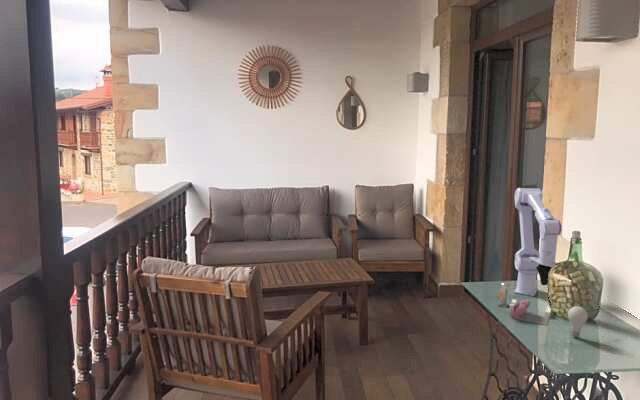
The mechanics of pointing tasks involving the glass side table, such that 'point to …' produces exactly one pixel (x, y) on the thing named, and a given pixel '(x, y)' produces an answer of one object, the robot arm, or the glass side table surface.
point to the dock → (504, 304)
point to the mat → (533, 318)
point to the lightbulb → (577, 319)
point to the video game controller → (520, 308)
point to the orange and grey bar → (503, 289)
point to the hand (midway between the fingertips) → (544, 284)
